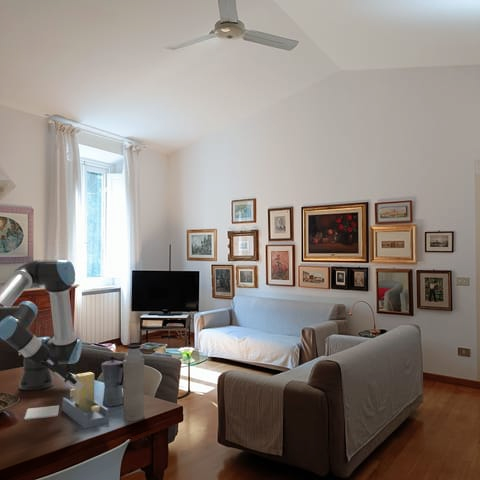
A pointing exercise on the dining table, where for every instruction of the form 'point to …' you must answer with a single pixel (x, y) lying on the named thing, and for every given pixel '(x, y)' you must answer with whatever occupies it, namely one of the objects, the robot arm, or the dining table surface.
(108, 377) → the moka pot
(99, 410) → the grey divided tray
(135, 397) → the thermos bottle
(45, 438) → the dining table surface
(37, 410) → the white square mat
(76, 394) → the tan cardboard box
